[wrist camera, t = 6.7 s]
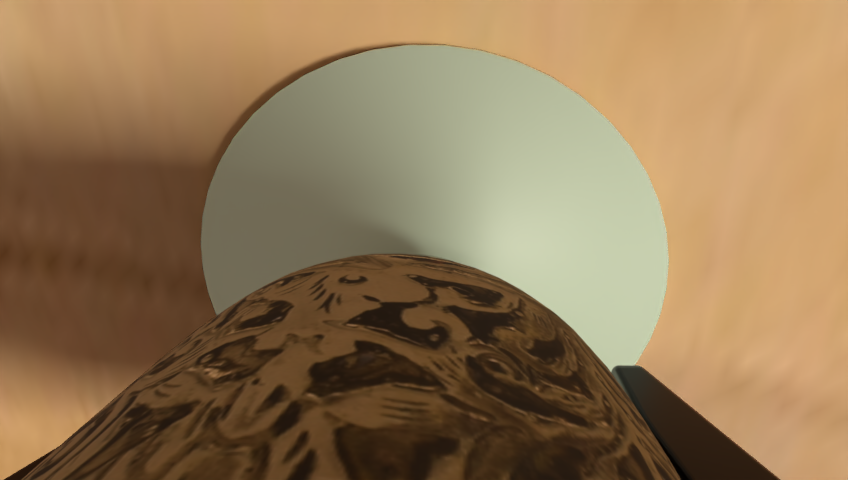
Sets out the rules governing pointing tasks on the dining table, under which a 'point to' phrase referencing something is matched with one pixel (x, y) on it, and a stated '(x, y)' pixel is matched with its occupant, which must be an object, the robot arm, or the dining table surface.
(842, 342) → the dining table surface
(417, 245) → the pad
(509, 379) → the cup
